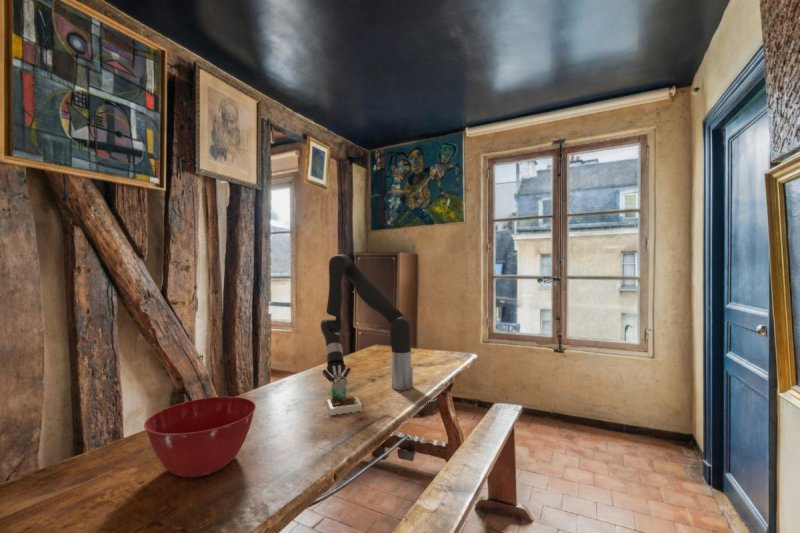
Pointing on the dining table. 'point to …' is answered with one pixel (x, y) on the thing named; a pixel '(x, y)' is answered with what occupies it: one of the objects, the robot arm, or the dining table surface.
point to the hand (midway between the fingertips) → (338, 389)
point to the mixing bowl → (200, 434)
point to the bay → (345, 407)
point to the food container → (338, 390)
